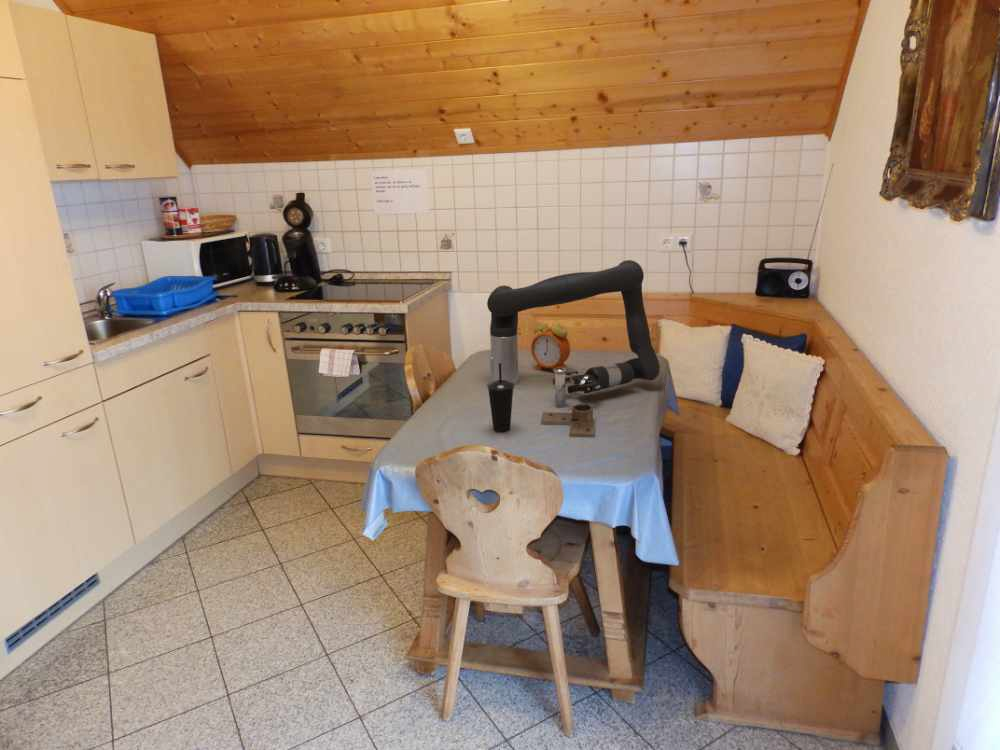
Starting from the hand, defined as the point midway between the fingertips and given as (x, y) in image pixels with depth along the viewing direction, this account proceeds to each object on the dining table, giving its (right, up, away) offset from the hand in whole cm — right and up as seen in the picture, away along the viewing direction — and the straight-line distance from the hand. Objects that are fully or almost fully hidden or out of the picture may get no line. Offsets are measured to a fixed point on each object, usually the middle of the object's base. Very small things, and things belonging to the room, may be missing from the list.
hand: (560, 385), depth 210 cm
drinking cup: (-18, -13, -15) cm, 27 cm away
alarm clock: (0, +5, +37) cm, 37 cm away
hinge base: (+1, -11, -14) cm, 18 cm away
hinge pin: (0, -6, +2) cm, 7 cm away
